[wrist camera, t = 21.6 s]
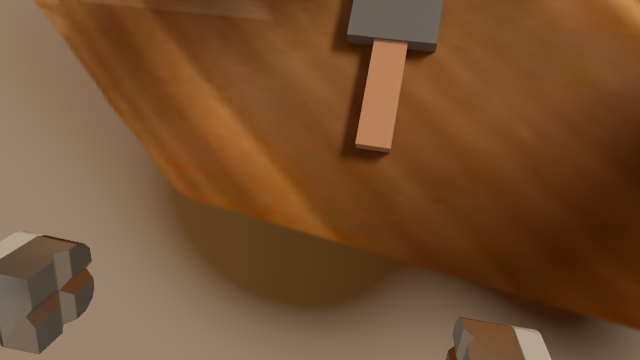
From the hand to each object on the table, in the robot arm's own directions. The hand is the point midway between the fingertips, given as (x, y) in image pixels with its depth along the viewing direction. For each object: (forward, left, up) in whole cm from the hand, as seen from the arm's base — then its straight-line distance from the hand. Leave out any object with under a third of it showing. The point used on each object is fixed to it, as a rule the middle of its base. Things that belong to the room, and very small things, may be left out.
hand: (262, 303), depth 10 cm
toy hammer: (+17, -12, -28) cm, 35 cm away
